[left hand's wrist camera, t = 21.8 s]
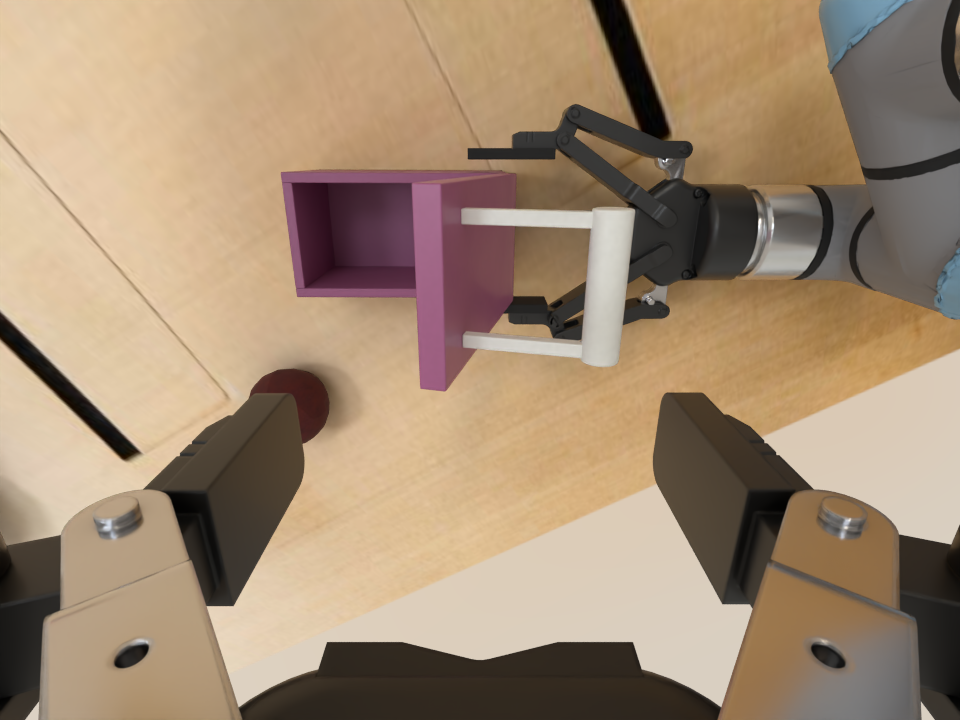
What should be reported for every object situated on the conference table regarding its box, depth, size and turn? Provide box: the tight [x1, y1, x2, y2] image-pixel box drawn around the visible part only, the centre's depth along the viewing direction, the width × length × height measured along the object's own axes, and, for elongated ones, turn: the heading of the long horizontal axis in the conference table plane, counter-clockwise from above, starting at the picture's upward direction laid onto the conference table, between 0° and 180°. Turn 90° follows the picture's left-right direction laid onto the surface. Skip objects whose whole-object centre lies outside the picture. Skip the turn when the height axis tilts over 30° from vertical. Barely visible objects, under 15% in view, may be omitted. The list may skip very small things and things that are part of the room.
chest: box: [281, 170, 505, 297], centre depth 43 cm, size 16×9×10 cm, turn 90°
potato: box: [249, 369, 329, 444], centre depth 50 cm, size 7×8×7 cm
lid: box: [412, 173, 635, 391], centre depth 29 cm, size 17×9×9 cm
